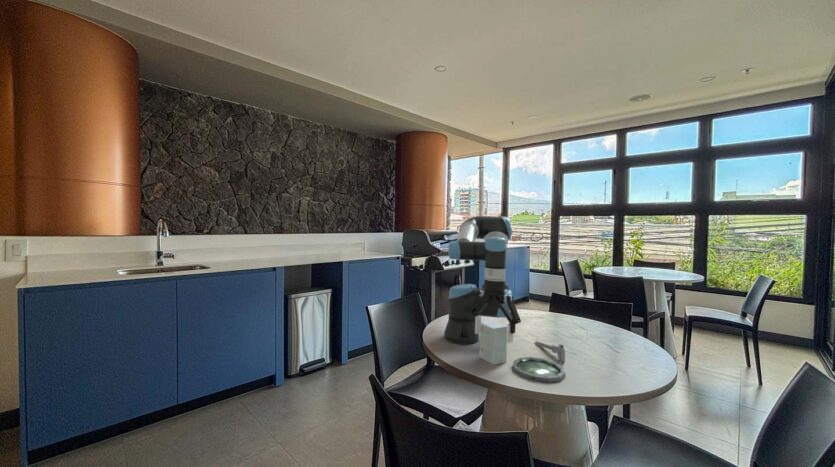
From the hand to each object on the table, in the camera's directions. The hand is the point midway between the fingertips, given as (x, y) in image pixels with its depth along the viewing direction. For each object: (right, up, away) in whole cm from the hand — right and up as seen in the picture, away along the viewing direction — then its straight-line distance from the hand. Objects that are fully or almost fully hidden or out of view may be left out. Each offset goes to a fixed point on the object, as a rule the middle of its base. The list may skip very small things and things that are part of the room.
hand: (493, 337), depth 122 cm
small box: (0, -9, +1) cm, 9 cm away
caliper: (+24, -9, +9) cm, 27 cm away
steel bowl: (+13, -9, -9) cm, 18 cm away
